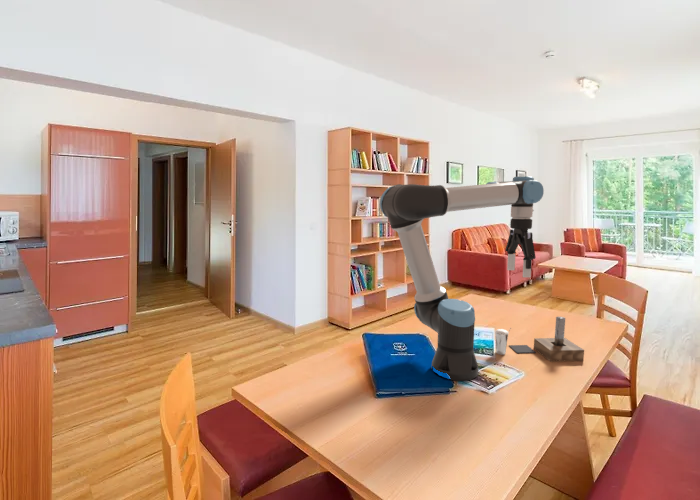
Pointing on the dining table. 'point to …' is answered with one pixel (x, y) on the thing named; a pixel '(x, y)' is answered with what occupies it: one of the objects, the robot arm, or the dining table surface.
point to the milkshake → (501, 341)
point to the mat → (522, 349)
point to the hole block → (558, 350)
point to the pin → (559, 331)
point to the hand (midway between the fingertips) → (518, 273)
